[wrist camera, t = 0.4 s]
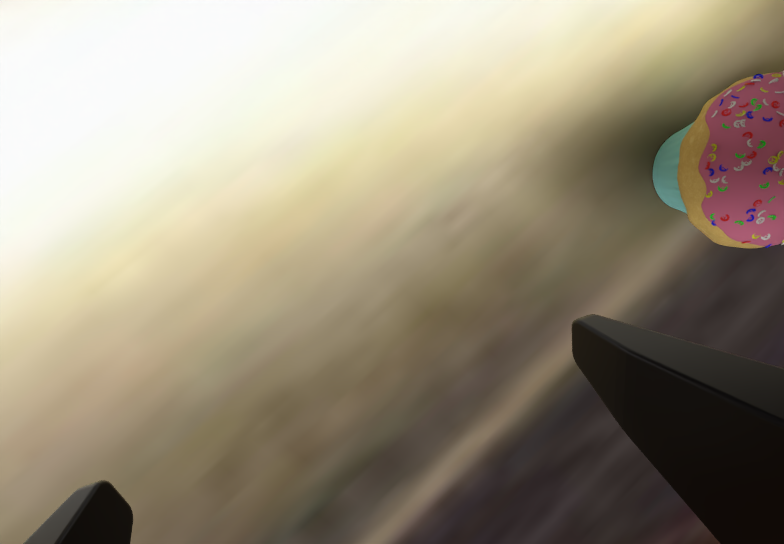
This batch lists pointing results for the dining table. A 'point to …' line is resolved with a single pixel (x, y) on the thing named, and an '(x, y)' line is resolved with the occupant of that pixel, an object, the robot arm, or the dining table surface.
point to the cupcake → (730, 165)
